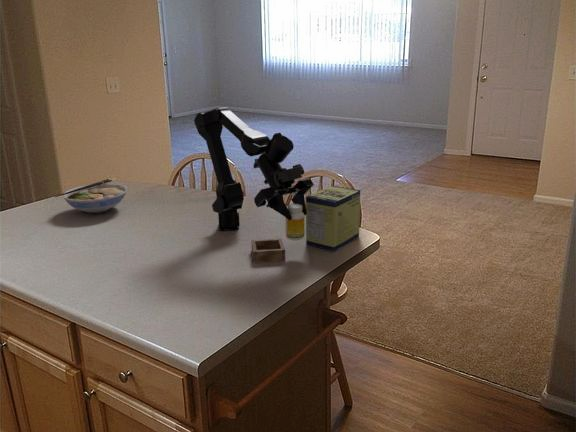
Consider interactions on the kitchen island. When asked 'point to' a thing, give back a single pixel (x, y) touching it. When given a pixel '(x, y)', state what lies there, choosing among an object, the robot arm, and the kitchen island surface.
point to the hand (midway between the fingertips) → (298, 216)
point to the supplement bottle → (295, 223)
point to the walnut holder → (268, 250)
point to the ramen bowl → (95, 196)
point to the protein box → (332, 217)
